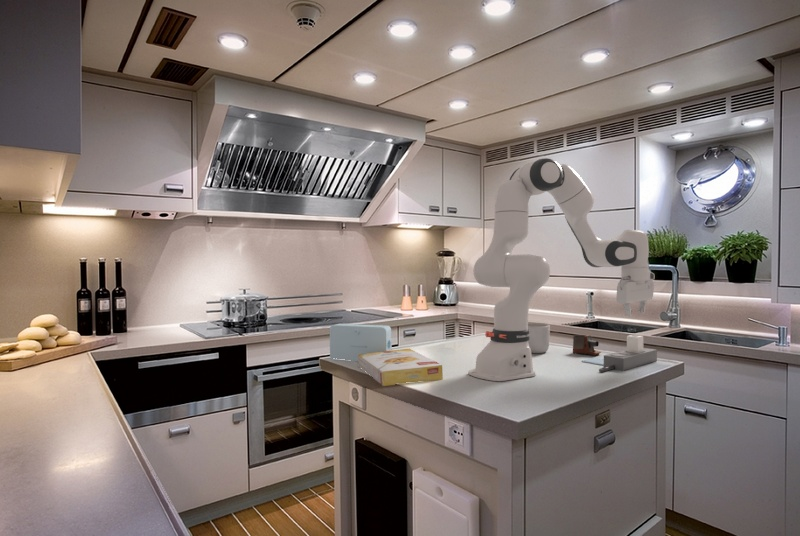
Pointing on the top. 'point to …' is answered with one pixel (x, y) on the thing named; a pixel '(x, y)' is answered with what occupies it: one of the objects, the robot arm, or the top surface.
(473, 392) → the top surface
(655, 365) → the top surface
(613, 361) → the power strip
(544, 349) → the planter
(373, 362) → the cereal box
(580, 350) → the electronic device
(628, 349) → the block
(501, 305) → the robot arm
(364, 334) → the light blue box
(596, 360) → the mat
